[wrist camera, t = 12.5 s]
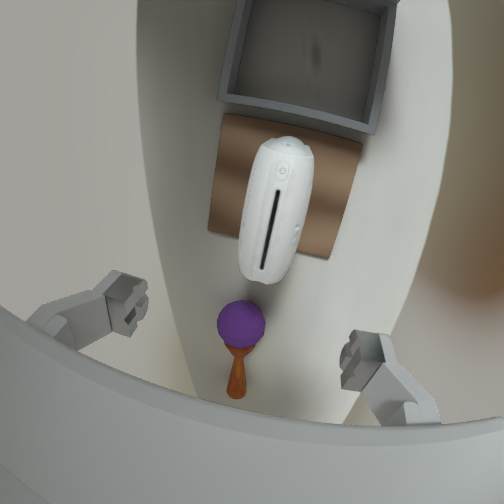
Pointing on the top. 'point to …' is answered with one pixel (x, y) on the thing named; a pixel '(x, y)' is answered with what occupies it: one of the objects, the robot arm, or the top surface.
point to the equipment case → (379, 3)
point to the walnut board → (323, 189)
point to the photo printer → (275, 208)
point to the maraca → (240, 339)
